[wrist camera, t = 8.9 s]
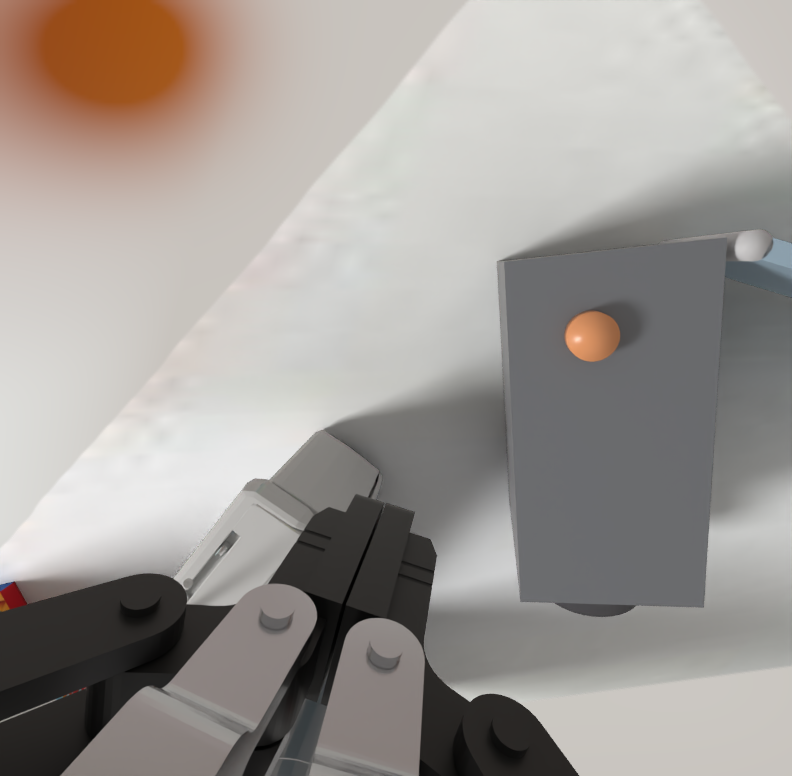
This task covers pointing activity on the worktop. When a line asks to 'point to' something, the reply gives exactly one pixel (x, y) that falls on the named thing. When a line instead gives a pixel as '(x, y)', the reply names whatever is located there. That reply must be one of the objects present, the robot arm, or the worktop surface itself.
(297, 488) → the stereo radio cassette player
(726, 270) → the side door
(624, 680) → the worktop surface
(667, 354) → the camera housing
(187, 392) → the worktop surface
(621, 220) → the worktop surface
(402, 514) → the robot arm
